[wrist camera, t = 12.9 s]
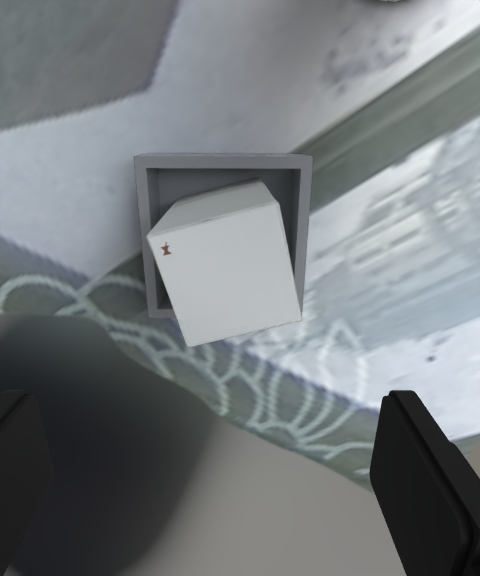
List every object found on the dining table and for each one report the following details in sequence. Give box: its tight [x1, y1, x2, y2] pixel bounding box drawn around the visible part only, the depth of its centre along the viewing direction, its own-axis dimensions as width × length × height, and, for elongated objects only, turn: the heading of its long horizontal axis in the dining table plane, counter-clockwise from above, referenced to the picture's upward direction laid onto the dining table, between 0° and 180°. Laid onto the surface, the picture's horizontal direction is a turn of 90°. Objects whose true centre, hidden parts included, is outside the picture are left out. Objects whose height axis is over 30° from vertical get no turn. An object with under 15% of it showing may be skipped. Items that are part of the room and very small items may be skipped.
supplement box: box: [146, 177, 302, 347], centre depth 27 cm, size 7×7×13 cm
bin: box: [134, 153, 313, 318], centre depth 32 cm, size 13×13×5 cm
